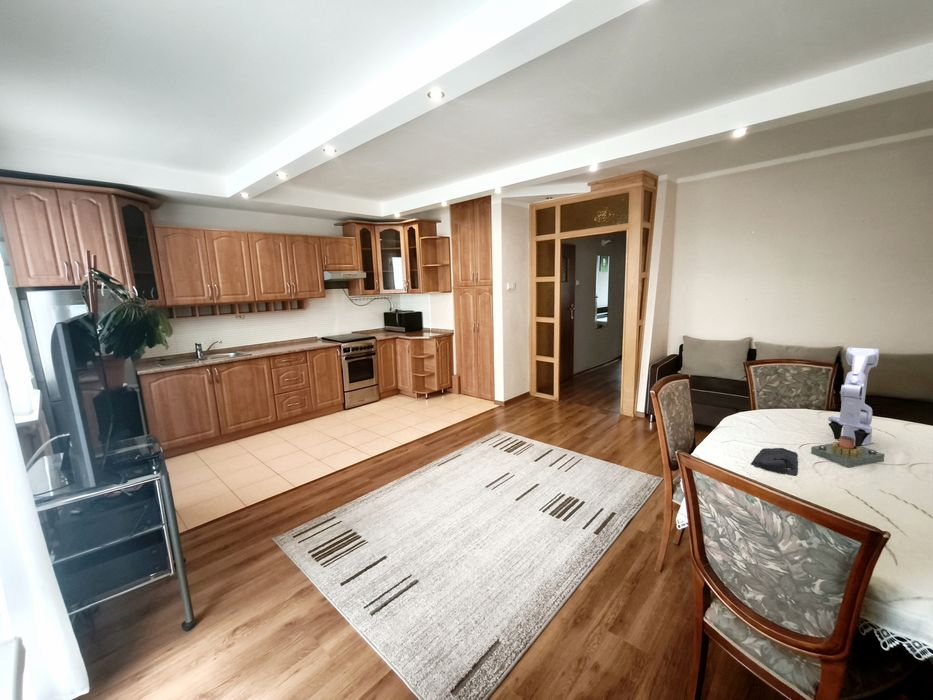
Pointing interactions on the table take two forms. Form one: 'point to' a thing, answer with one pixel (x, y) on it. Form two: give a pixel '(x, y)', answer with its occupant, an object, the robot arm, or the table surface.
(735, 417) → the table surface
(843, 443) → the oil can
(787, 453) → the dark slate chunk
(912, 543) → the table surface
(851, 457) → the metal plate with ring
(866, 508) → the table surface
